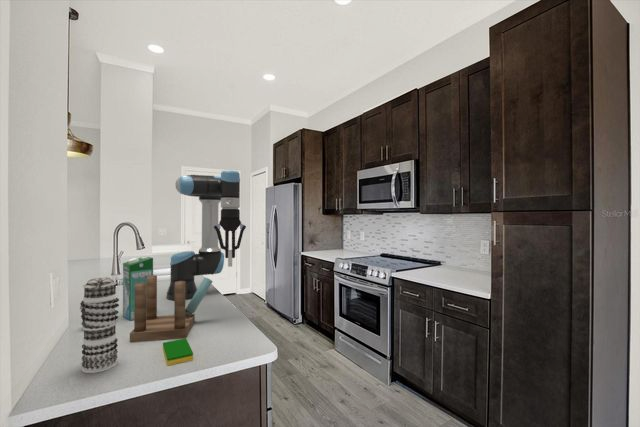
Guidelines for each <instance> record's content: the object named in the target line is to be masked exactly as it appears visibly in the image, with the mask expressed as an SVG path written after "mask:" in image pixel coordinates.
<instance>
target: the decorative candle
mask: <svg viewBox="0 0 640 427" xmlns="http://www.w3.org/2000/svg"><path fill="white" fill-rule="evenodd" d="M117 284H118V282H116V281H114V279H113V278H111V277H97V278H96V277H95V278H92V279H89V280H88V281H87V282H86V284H84V285H82V287H83V288H84V292H83V293H84V294H83V295H84V296H83V299H82V301H81V302H80V303H79V304H80V305H81V306H82V307H83V308H82V309H80V313H81V316H80V317H81V320H82V319H83V320H82V322H81V325H82V326H81V329H82V330H83V337H82V338H83V340H82V341H83V342H82V345H81V348H82V350H81V353H82V357H81V361H82V362H81V367H82V368H81V371H82V372H83V373H85V374H96V373H102V372H104V371H107V370H110V369H112V368H114V367H115V366H116V365H117V364H118V360H117V359H118V352H119V351H118V343H117V342H118V338H117V331H116V329H117V328H116V325H117V324H118V320H117V319H118V318H119V316H118V314H119V311H118V310H117V309H116V308H118V307H120V305H119V304H120V303H117V302H119V301H120V298H118V297H117V290H116V289H117V287H116V286H117ZM80 305H79V306H80Z"/></svg>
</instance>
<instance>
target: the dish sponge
mask: <svg viewBox="0 0 640 427" xmlns="http://www.w3.org/2000/svg"><path fill="white" fill-rule="evenodd" d="M162 350H163V354H164V357H165V358H164V359H165V361H166V362H165V363H166V366H172V365H176V364H181V363H185V362H191V361H193V360H194V351H193V349H192V347H191V345H190V343H189V341H188V339H187V337H186V338H179V339H173V340H169V341H166V342H162Z"/></svg>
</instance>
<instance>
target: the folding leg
mask: <svg viewBox="0 0 640 427" xmlns="http://www.w3.org/2000/svg"><path fill="white" fill-rule="evenodd" d="M212 283H213V280H212V279H210V278H208V277H204V278H203V279H202V281H201V283H200V284H199V286H198V288H197V291H196V293H195V294H194V296H193V298H191V299H190V301H189V302H188V304H187V306H186V307H185V309H186V310H187V311H188V312H190V313H192V314H195V312H196V310H197V309H198V307H199V305H200V304H201V302H202V300H203V299H204V297H205V295H206V293H207V292H208V290H209V288H210V287H211V285H212Z"/></svg>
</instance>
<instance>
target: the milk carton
mask: <svg viewBox="0 0 640 427" xmlns="http://www.w3.org/2000/svg"><path fill="white" fill-rule="evenodd" d="M152 275H154V257H150V256H146V255H145V256H141V257H134V258H130V259H128V260H127V261H126V262H123V264H122V316H123V317H124V318H125V319H127V320H129V321H130V322H131V321H134V300H135V283H140V282H145V283H146V295H147V276H152Z"/></svg>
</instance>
